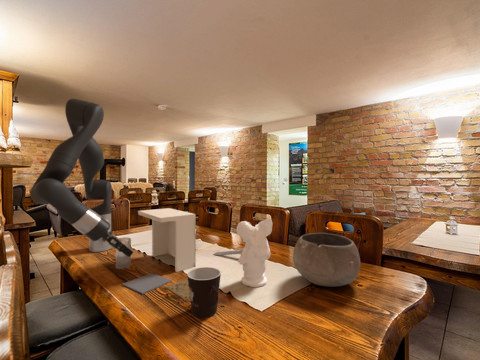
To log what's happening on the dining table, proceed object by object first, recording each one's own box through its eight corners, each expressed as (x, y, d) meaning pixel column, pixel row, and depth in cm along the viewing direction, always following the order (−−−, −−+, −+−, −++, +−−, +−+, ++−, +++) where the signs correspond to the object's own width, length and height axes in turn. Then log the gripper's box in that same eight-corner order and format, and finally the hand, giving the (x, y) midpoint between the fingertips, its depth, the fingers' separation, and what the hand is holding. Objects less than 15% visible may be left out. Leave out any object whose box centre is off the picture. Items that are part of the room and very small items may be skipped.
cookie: (196, 277, 86) (196, 275, 86) (217, 289, 78) (217, 286, 78) (164, 288, 78) (164, 285, 78) (184, 302, 69) (184, 299, 69)
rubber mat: (122, 284, 79) (122, 283, 79) (151, 274, 88) (151, 272, 88) (142, 294, 73) (142, 292, 73) (171, 281, 82) (171, 280, 82)
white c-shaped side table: (138, 258, 105) (138, 210, 105) (169, 252, 114) (169, 208, 114) (160, 276, 87) (160, 217, 86) (195, 266, 96) (195, 214, 95)
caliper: (256, 260, 104) (256, 245, 104) (255, 261, 103) (255, 246, 103) (214, 254, 112) (214, 240, 112) (212, 255, 111) (212, 241, 111)
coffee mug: (189, 303, 68) (189, 267, 68) (220, 302, 69) (220, 266, 68) (183, 329, 56) (183, 286, 56) (221, 327, 57) (221, 284, 57)
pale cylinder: (113, 266, 89) (113, 239, 89) (126, 262, 94) (126, 236, 93) (120, 269, 87) (120, 241, 86) (133, 265, 91) (133, 238, 90)
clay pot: (356, 274, 88) (356, 233, 88) (365, 303, 68) (365, 249, 68) (296, 267, 95) (296, 229, 95) (288, 291, 75) (288, 242, 75)
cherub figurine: (234, 284, 80) (233, 217, 80) (246, 271, 92) (245, 212, 91) (270, 290, 76) (269, 219, 76) (278, 275, 87) (277, 213, 87)
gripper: (104, 218, 79) (142, 248, 87) (96, 213, 90) (130, 240, 98) (85, 237, 76) (126, 267, 84) (79, 229, 87) (116, 256, 95)
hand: (128, 252), depth 91 cm, fingers closed on pale cylinder, 5 cm apart
